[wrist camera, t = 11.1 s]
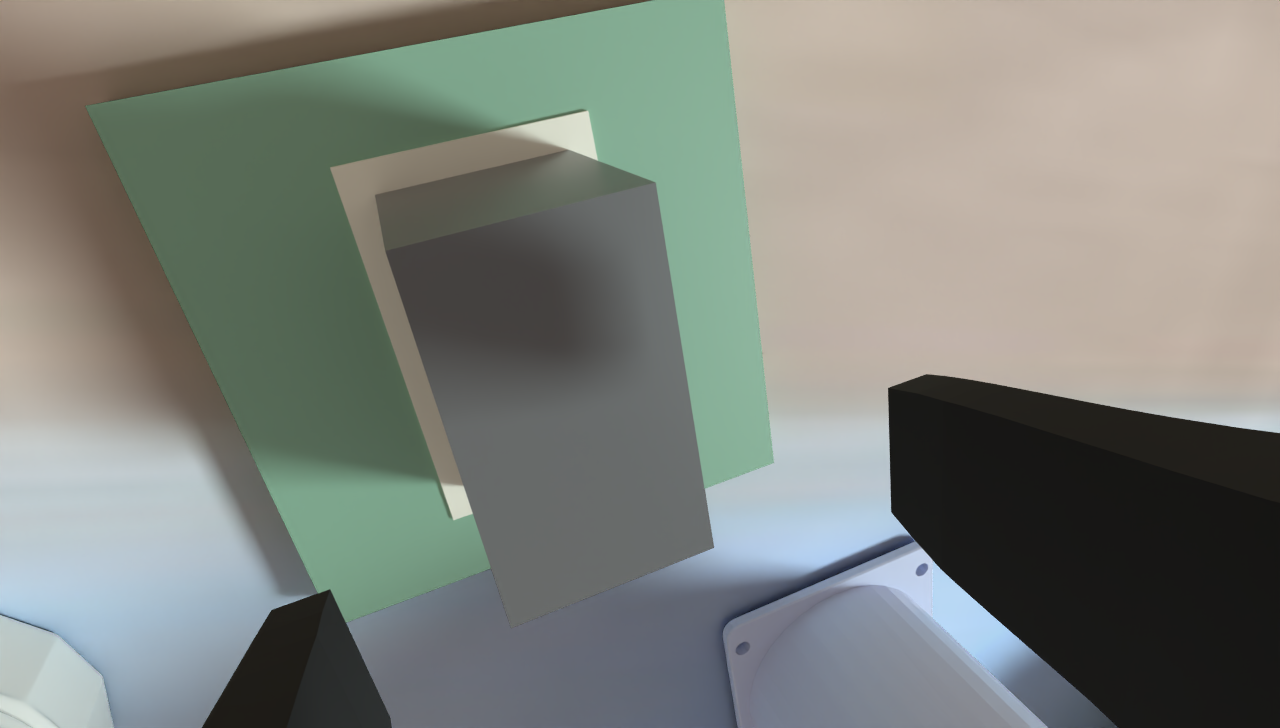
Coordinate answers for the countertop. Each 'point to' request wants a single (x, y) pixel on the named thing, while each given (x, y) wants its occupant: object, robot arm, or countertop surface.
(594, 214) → the block
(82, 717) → the white cup
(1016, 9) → the countertop surface
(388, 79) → the board
